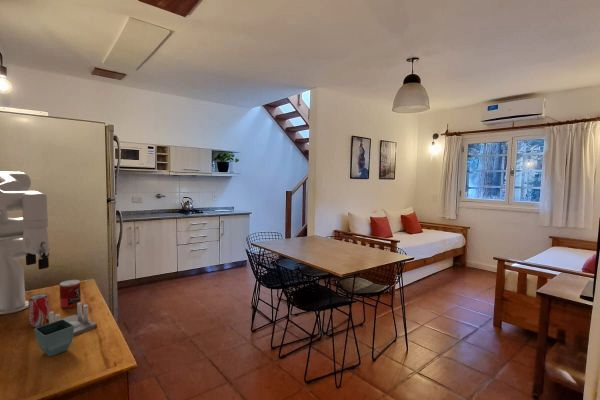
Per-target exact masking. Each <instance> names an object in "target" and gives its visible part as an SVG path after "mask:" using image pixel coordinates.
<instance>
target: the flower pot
mask: <svg viewBox="0 0 600 400" xmlns="http://www.w3.org/2000/svg"><path fill="white" fill-rule="evenodd" d="M61 319H62V320H58V321H55V320H54V322H53V323H50V324H49V323H47V325H44V326H41V327H34V330H33V331H34V335H35V339H36V343H37V345H38V347H39V349H40V350H41V351H42V352H43V353H44V354H46V355H47V356H48V357H54V356H56V355H59V354H60V353H63V352H66V351H67V350H68V349H69V348H70V346H71V345H72V343H73V339H74V336H73V333H74V325H73V324H71V323H69V322H67V321H66V320H64V319H63V318H61Z"/></svg>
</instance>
